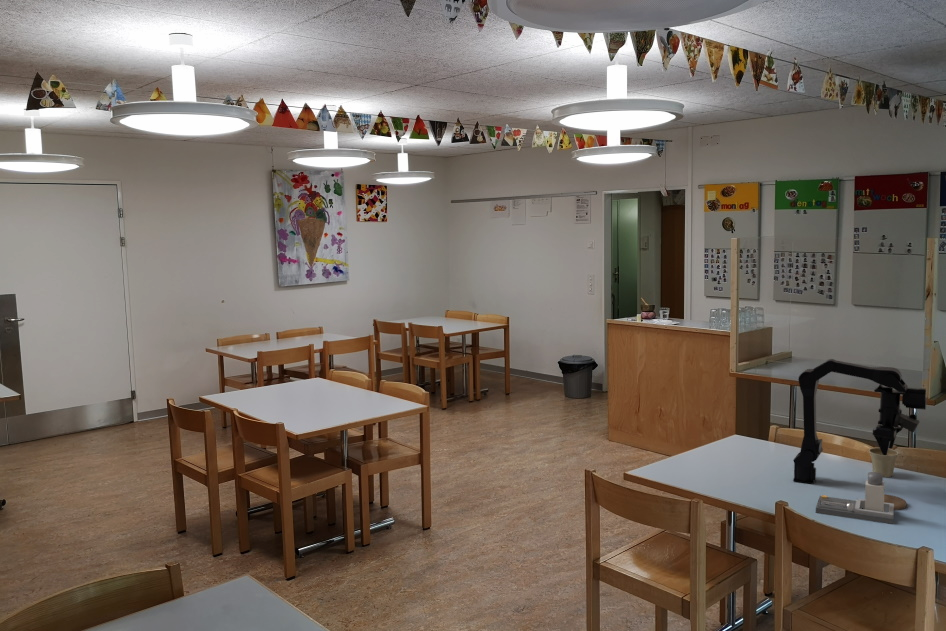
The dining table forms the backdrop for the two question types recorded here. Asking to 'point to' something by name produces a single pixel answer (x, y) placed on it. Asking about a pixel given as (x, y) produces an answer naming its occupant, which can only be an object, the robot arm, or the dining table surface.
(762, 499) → the dining table surface
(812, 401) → the robot arm
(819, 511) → the grey control panel
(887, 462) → the flower pot
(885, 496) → the disc
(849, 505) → the lever
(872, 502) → the white carton with cap
